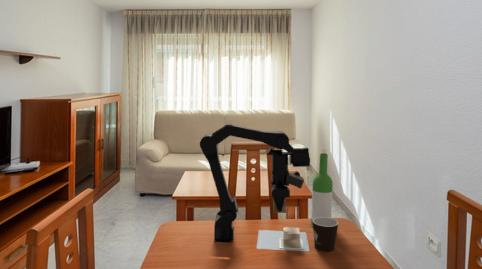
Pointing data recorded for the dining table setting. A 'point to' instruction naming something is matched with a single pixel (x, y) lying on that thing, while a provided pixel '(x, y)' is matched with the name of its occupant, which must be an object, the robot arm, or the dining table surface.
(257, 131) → the robot arm
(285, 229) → the beech block
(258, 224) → the dining table surface
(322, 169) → the wine bottle
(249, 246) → the dining table surface
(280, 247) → the build board
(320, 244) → the coffee mug
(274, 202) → the walnut cube
